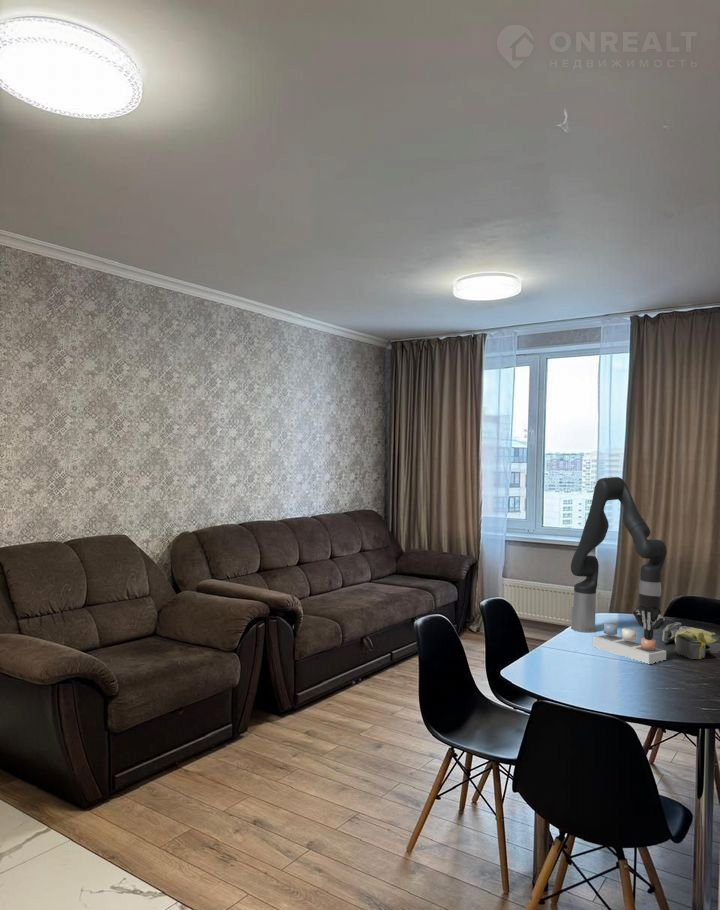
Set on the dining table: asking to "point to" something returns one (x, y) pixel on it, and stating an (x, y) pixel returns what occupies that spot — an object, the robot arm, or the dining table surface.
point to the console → (628, 648)
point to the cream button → (628, 634)
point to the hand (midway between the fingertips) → (648, 639)
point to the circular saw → (691, 640)
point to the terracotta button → (648, 644)
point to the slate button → (610, 628)
